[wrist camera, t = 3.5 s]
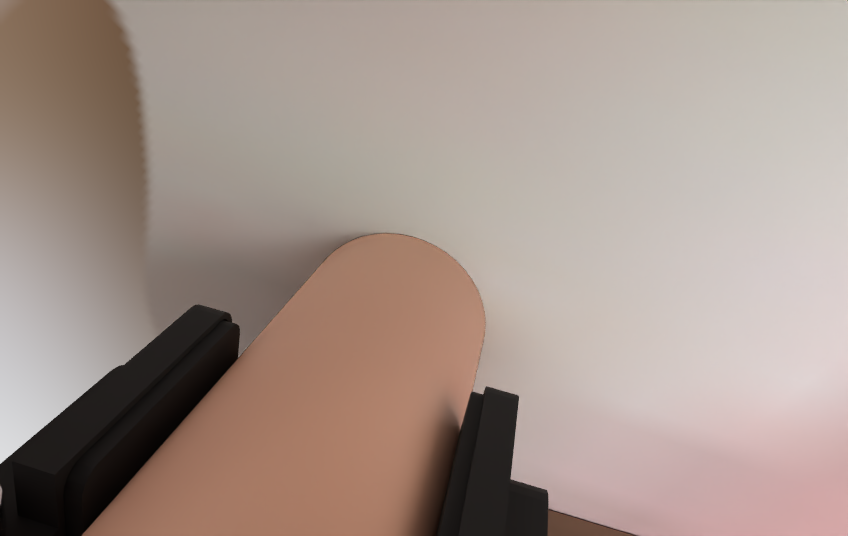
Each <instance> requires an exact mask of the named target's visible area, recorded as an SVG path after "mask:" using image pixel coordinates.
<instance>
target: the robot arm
mask: <svg viewBox="0 0 848 536" xmlns="http://www.w3.org/2000/svg"><path fill="white" fill-rule="evenodd" d="M239 336H240V328H239V326H238V325H237V324H234V323H232V318H231V315H230V314H229V313H227V312H223V311H220V310H216V309H213V308H209V307H206V306H202V305H195V306H193V307H191V308H190V309H189V310H188V311H187V312H186V313H184V314H183V315H182V316H181V317H180V318H179V319H177V320H176V321H175V322H174V323H173V324H172V325H170V326H169V327H168V328H167V329H166V330H164V331H163V332H162V333H161V334H160V335H159V336H157V337H156V338H155V339H154V340H153V341H152V342H150V343H149V344H148V345H147V346H146V347H145V348H144V349H142V350H141V351H140V352H139V353H138V354H136V355H135V356H134V357H133V358H132V359H131V360H129V361H128V362H127V363H126V364H125V365H121V366H118V367H116V368H115V369H113V370H112V371H110V372H109V373H108V374H107V375H105V376H104V377H103V378H102V379H101V380H100V381H98V382H97V383H96V384H95V385H94V386H92V387H91V388H90V389H89V390H88V391H86V392H85V393H84V394H83V395H82V396H81V397H79V398H78V399H77V400H76V401H75V402H73V403H72V404H71V405H70V406H69V407H68V408H66V409H65V410H64V411H63V412H62V413H60V415H58V416H57V417H56V418H54V419H53V420H52V421H51V422H50V423H48V425H46V426H45V427H44V428H43V429H41V430H40V431H39V432H38V433H37V434H36V435H34V436H33V437H32V438H31V439H30V440H28V441H27V442H26V443H25V444H24V445H22V446H21V447H20V448H19V449H18V450H16V451H15V452H14V453H13V454H12V455H11V456H9V457H8V458H7V459H6V460H5V461H4V462H2V463H1V464H0V536H82V535H83V533H84V532H85V531H86V530H87V529H88V528H89V527H90V525H91V524H92V523H93V522H94V521H95V520H96V519H97V518H98V516H99V515H100V514H101V513H102V512H103V511H104V510H105V508H106V507H107V506H108V505H109V504H110V503H111V502H112V501H113V499H114V498H115V497H116V496H117V495H118V494H119V493H120V491H121V490H122V489H123V488H124V487H125V486H126V485H127V484H128V482H129V481H130V480H131V479H132V478H133V477H134V476H135V475H136V473H137V472H138V471H139V470H140V469H141V468H142V467H143V465H144V464H145V463H146V462H147V461H148V460H149V459H150V458H151V456H152V455H153V454H154V453H155V452H156V451H157V450H158V448H159V447H160V446H161V445H162V444H163V443H164V442H165V441H166V439H167V438H168V437H169V436H170V435H171V434H172V433H173V431H174V430H175V429H176V428H177V427H178V426H179V425H180V424H181V422H182V421H183V420H184V419H185V418H186V417H187V416H188V414H189V413H190V412H191V411H192V410H193V409H194V408H195V407H196V405H197V404H198V403H199V402H200V401H201V400H202V399H203V398H204V396H205V395H206V394H207V393H208V392H209V391H210V390H211V388H212V387H213V386H214V385H215V384H216V383H217V382H218V381H219V379H220V378H221V377H222V376H223V375H224V374H225V373H226V371H227V370H228V369H229V368H230V367H231V366H232V365H233V364H234V362H235V361H236V360H237V359H238V348H239ZM518 401H519V396H518V395H515V394H511V393H508V392H504V391H501V390H497V389H494V388H490V387H487V386H486V388H485V391H484V394H483V395H482V394H479V393H475V392H472V391H471V394H470V397H469V401H468V404H467V408H466V411H465V415H464V418H463V422H462V425H461V429H460V433H459V437H458V442H457V446H456V450H455V455H454V459H453V463H452V468H451V472H450V476H449V481H448V485H447V489H446V494H445V498H444V502H443V507H442V511H441V515H440V520H439V524H438V528H437V533H436V536H548V493H547V490H544V489H541V488H537V487H534V486H531V485H527V484H524V483H521V482H517V481H514V480H511V479H510V477H511V468H512V458H513V449H514V439H515V429H516V420H517V410H518Z"/></svg>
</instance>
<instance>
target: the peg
mask: <svg viewBox="0 0 848 536" xmlns="http://www.w3.org/2000/svg"><path fill="white" fill-rule="evenodd" d="M485 323H486V322H485V311H484V307H483V303H482V300H481V297H480V295H479V292H478V290H477V288H476V286H475V284H474V283H473V281H472V279H471V278H470V276H469V275H468V274H467V272H466V271H465V270H464V269H463V268H462V267H461V266H460V264H459V263H458V262H457V261H456V260H454V259H453V258H452V257H451V256H449V255H448V254H447V253H446V252H444V251H442V250H441V249H439V248H438V247H436V246H434V245H432V244H430V243H428V242H426V241H423V240H420V239H417V238H414V237H411V236H406V235H401V234H389V233H385V234H373V235H368V236H363V237H360V238H357V239H354V240H352V241H350V242H348V243H346V244H344V245H342V246H341V247H339V248H338V249H336V250H335V251H334V252H333V253H332V254H330V255H329V256H328V257H327V258H326V259H325V261H324V262H323V263H322V264H321V265H320V266H319V267H318V268H317V270H316V271H315V272H314V273H313V274H312V275H311V276H310V278H309V279H308V280H307V281H306V282H305V283H304V284H303V285H302V287H301V288H300V289H299V290H298V291H297V292H296V293H295V294H294V296H293V297H292V298H291V299H290V300H289V301H288V302H287V304H286V305H285V306H284V307H283V308H282V309H281V310H280V311H279V313H278V314H277V315H276V316H275V317H274V318H273V319H272V321H271V322H270V323H269V324H268V325H267V326H266V327H265V328H264V330H263V331H262V332H261V333H260V334H259V335H258V336H257V338H256V339H255V340H254V341H253V342H252V343H251V344H250V345H249V347H248V348H247V349H246V350H245V351H244V352H243V353H242V354H241V356H240V357H239V358H238V359H237V360H236V361H235V362H234V364H233V365H232V366H231V367H230V368H229V369H228V370H227V371H226V373H225V374H224V375H223V376H222V377H221V378H220V379H219V381H218V382H217V383H216V384H215V385H214V386H213V387H212V388H211V390H210V391H209V392H208V393H207V394H206V395H205V396H204V398H203V399H202V400H201V401H200V402H199V403H198V404H197V405H196V407H195V408H194V409H193V410H192V411H191V412H190V413H189V414H188V416H187V417H186V418H185V419H184V420H183V421H182V422H181V424H180V425H179V426H178V427H177V428H176V429H175V430H174V431H173V433H172V434H171V435H170V436H169V437H168V438H167V439H166V441H165V442H164V443H163V444H162V445H161V446H160V447H159V448H158V450H157V451H156V452H155V453H154V454H153V455H152V456H151V458H150V459H149V460H148V461H147V462H146V463H145V464H144V465H143V467H142V468H141V469H140V470H139V471H138V472H137V473H136V475H135V476H134V477H133V478H132V479H131V480H130V481H129V482H128V484H127V485H126V486H125V487H124V488H123V489H122V490H121V491H120V493H119V494H118V495H117V496H116V497H115V498H114V499H113V501H112V502H111V503H110V504H109V505H108V506H107V507H106V508H105V510H104V511H103V512H102V513H101V514H100V515H99V516H98V518H97V519H96V520H95V521H94V522H93V523H92V524H91V525H90V527H89V528H88V529H87V530H86V531H85V532H84V533H83V535H82V536H436V533H437V528H438V524H439V520H440V515H441V511H442V507H443V502H444V498H445V494H446V489H447V485H448V481H449V476H450V472H451V468H452V463H453V459H454V455H455V450H456V446H457V442H458V437H459V433H460V429H461V425H462V422H463V418H464V415H465V411H466V408H467V404H468V401H469V397H470V394H471V391H472V390H473V386H474V381H475V377H476V372H477V368H478V363H479V359H480V354H481V350H482V345H483V340H484V336H485Z"/></svg>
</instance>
